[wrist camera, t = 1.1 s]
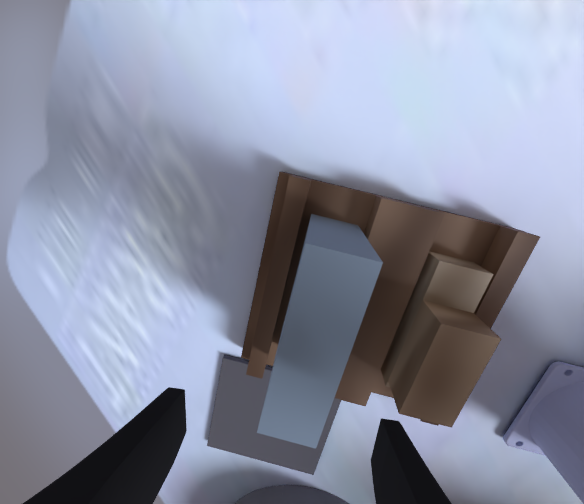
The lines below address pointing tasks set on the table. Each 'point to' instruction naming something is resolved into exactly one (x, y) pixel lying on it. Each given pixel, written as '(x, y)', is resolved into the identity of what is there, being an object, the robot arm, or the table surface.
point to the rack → (393, 275)
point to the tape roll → (290, 496)
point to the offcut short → (441, 363)
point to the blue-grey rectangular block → (319, 329)
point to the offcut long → (439, 296)
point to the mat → (256, 421)
